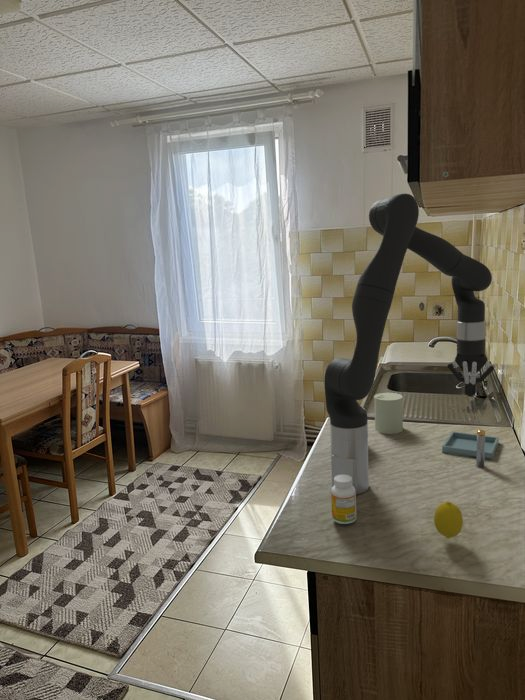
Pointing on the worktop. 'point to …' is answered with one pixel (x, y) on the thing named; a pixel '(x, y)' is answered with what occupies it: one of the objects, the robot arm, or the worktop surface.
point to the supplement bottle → (343, 500)
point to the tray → (469, 445)
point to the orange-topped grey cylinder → (480, 448)
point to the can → (388, 413)
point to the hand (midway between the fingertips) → (470, 395)
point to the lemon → (448, 519)
